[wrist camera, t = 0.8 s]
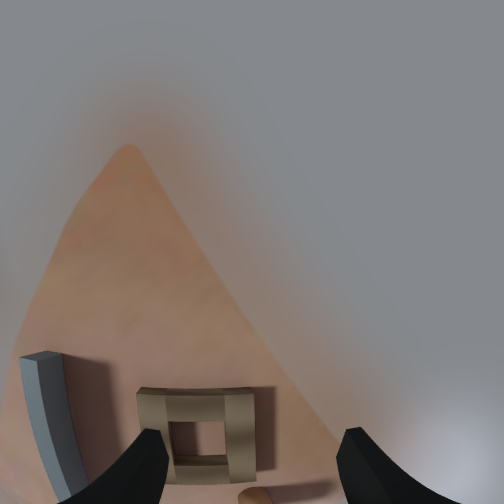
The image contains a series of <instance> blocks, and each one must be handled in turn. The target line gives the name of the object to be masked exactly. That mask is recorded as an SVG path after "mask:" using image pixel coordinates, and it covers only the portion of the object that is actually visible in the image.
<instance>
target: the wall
mask: <svg viewBox="0 0 504 504" xmlns="http://www.w3.org/2000/svg"><path fill="white" fill-rule="evenodd" d="M19 361H20V369H21V376H22V383H23V389H24V394H25V400H26V404H27V409H28V413H29V418H30V422H31V426H32V429H33V433H34V437H35V440H36V443H37V447H38V450H39V453H40V456H41V459H42V462H43V464H44V467H45V470H46V472H47V475H48V477H49V480H50V482H51V485H52V487H53V489H54V492H55V494H56V496H57V498H58V500H59V503H60V502H62V501H64V500H66V499H68V498H69V497H71V496H73V495H75V494H76V493H78V492H79V491H81V490H82V489H84V488H85V487H87V486H88V485H90V483H89V481H88V478H87V475H86V472H85V469H84V465H83V462H82V459H81V455H80V452H79V448H78V444H77V441H76V437H75V432H74V428H73V424H72V419H71V414H70V409H69V403H68V397H67V391H66V384H65V377H64V368H63V358H62V353H56V352H50V351H43V352H39V353H35V354H31V355H27V356H23V357H19Z"/></svg>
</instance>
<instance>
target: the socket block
mask: <svg viewBox="0 0 504 504" xmlns="http://www.w3.org/2000/svg"><path fill="white" fill-rule="evenodd" d="M136 398H137V406H138V414H139V421H140V427H141V432H142V431H143V430H144V429H145V428H149V429H155V430H160V432H161V435H162V438H163V441H164V444H165V447H166V449H167V452H168V455H169V458H170V459H169V465H168V472H167V478H166V482H165V484H177V485H215V484H233V483H245V482H254V481H256V451H255V414H254V393H253V391H252V390H251V388H250V387H241V388H219V389H167V388H146V387H141V388H140V389H139V390H138V392H137V393H136ZM171 421H177V422H209V421H224V428H225V443H226V455H211V456H177V455H175V451H174V444H173V437H172V429H171Z"/></svg>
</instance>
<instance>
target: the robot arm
mask: <svg viewBox="0 0 504 504" xmlns="http://www.w3.org/2000/svg"><path fill="white" fill-rule="evenodd" d="M169 459H170V458H169V455H168V452H167V449H166V447H165V444H164V441H163V438H162V435H161V432H160V430H155V429H149V428H145V429H144V430H143V431H142V432H141V433H140V435H139V436H138V437H137V438H136V439H135V441H134V442H133V443H132V444H131V445H130V446H129V448H128V449H127V450H126V451H125V452H124V453H123V454H122V455H121V456H120V457H119V458H118V459H117V460H116V462H115V463H114V464H113V465H112V466H111V467H109V468H108V469H107V470H106V471H105V472H104V473H103V474H102V475H101V476H100V477H98V478H97V479H96V480H95V481H93V482H92V483H91V484H90V485H88V486H87V487H85V488H84V489H82V490H81V491H79V492H78V493H76V494H75V495H73V496H71V497H69V498H68V499H66V500H64V501H62V502H60V503H57V504H159V502H160V498H161V495H162V492H163V488H164V485H165V482H166V478H167V472H168V465H169ZM336 459H337V465H338V471H339V476H340V480H341V483H342V486H343V489H344V492H345V495H346V498H347V501H348V504H460V503H457V502H455V501H452V500H450V499H448V498H446V497H444V496H441V495H439V494H437V493H435V492H434V491H432V490H430V489H429V488H427V487H425V486H424V485H422V484H421V483H419V482H418V481H416V480H415V479H414V478H412V477H411V476H410V475H408V474H407V473H406V472H404V470H402V469H401V468H400V467H399V466H398V465H397V464H396V463H394V462H393V461H392V460H391V459H390V458H389V457H388V456H387V455H386V454H385V453H384V452H383V451H382V450H381V449H380V448H379V447H378V445H376V443H374V441H373V440H372V439H371V438H370V437H369V436H368V434H367V433H366V432H365V431H364V430H363V429H362V428H361V427H357V428H351V429H346V432H345V435H344V437H343V440H342V443H341V445H340V448H339V451H338V453H337V456H336Z"/></svg>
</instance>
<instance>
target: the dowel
mask: <svg viewBox="0 0 504 504" xmlns="http://www.w3.org/2000/svg"><path fill="white" fill-rule="evenodd" d="M238 502H239V504H273V503H272V501H271V498H270V496H269V494H268V492H267V491H266V490H265V489H263V488H260V487H251V488H247V489H245V490H243V491H242V492H241V493H240V494H239V495H238Z"/></svg>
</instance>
